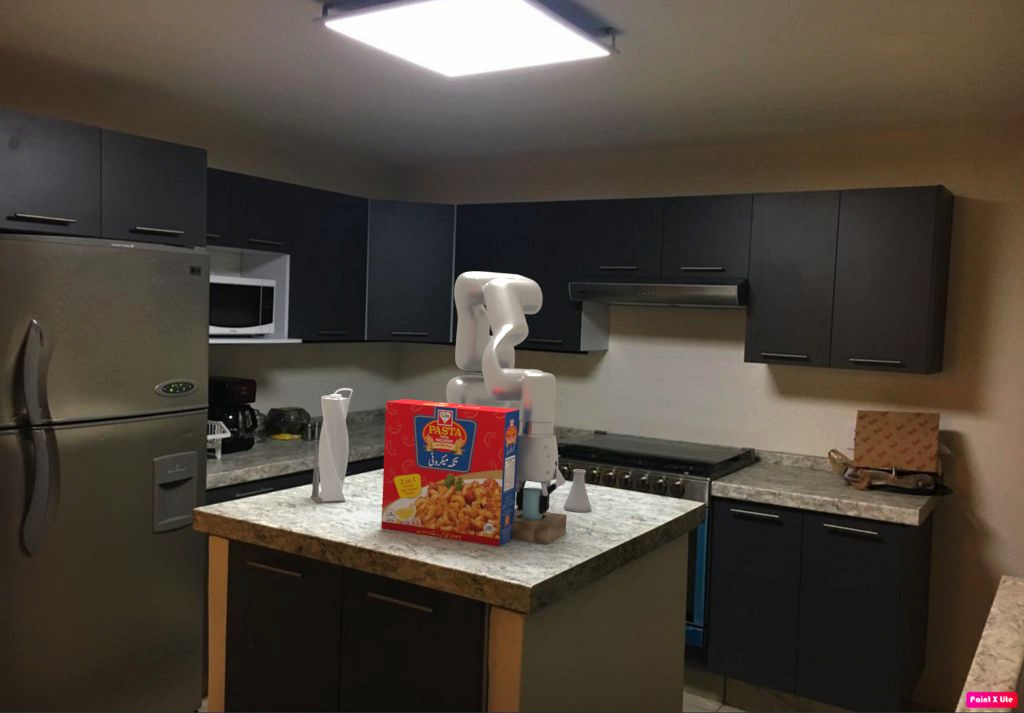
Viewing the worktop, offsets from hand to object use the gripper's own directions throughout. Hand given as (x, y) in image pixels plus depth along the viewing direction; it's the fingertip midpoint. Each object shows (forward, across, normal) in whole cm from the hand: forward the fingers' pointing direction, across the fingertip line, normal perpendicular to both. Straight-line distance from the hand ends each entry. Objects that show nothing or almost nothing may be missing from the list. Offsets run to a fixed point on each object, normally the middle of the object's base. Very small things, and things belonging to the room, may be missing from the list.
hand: (532, 510), depth 186 cm
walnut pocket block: (+5, 0, 0) cm, 5 cm away
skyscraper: (+6, -55, +4) cm, 55 cm away
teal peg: (+5, 0, 0) cm, 5 cm away
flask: (+6, +1, +30) cm, 31 cm away
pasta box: (+6, -16, -9) cm, 19 cm away
